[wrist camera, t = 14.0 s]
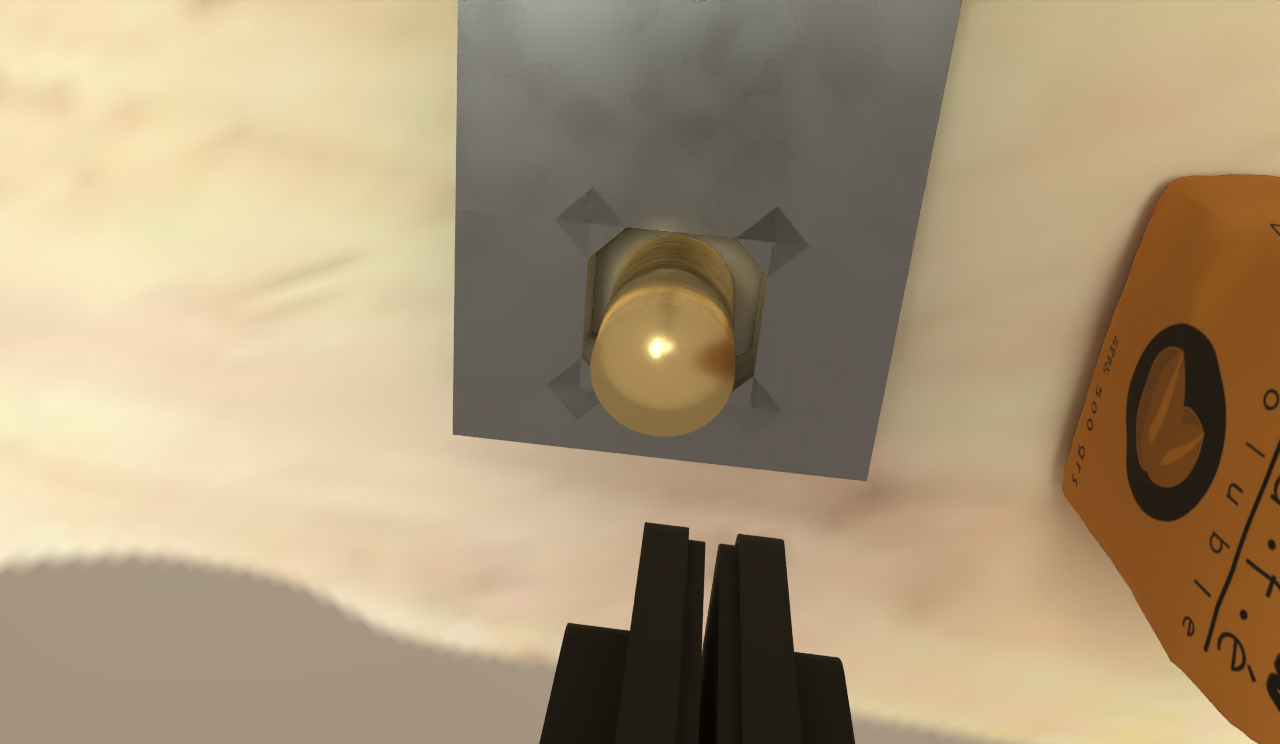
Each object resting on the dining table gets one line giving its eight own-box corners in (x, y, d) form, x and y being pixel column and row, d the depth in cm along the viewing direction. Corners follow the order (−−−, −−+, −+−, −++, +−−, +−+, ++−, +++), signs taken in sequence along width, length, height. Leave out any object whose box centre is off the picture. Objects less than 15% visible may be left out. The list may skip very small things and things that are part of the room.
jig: (482, -233, 29) (461, -249, 26) (979, -190, 28) (1001, -202, 26) (470, 403, 37) (452, 434, 34) (857, 446, 36) (866, 481, 34)
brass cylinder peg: (620, 227, 34) (595, 295, 27) (740, 241, 33) (743, 312, 27) (610, 339, 35) (585, 427, 29) (725, 352, 35) (725, 444, 29)
